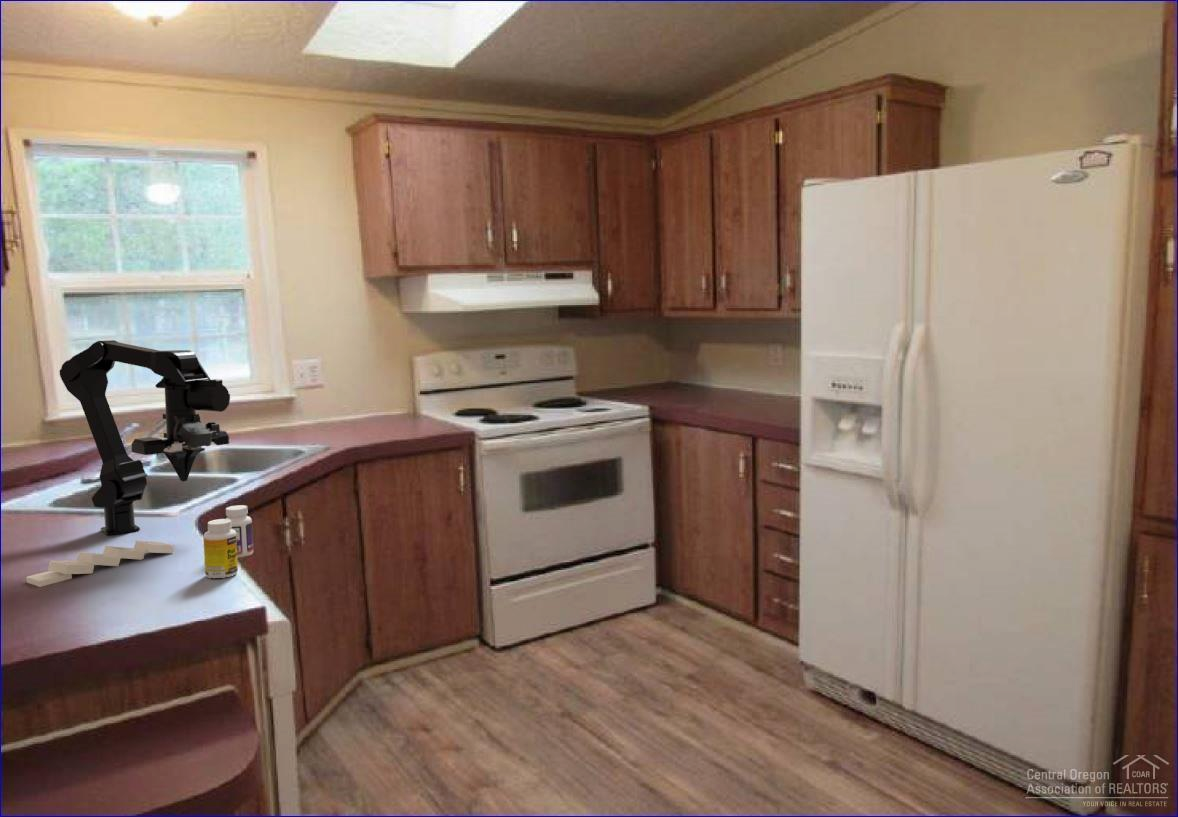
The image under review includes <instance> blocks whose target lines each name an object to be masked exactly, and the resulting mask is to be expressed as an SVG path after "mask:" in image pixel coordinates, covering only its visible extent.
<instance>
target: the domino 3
mask: <svg viewBox="0 0 1178 817" xmlns="http://www.w3.org/2000/svg"><path fill="white" fill-rule="evenodd" d="M121 559H122V558H116V557H112V556H108V555H105V554H103V553H96V552H95V553H94V552H83V551H79V552H78V554H77V558H76V561H81V562H84V563H88V564H93V565H94V566H95V565H96V566H97V565H98V566H109V567H119V564H120V561H121Z"/></svg>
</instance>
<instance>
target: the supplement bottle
mask: <svg viewBox="0 0 1178 817" xmlns="http://www.w3.org/2000/svg"><path fill="white" fill-rule="evenodd" d="M231 528H232V525H231V520H229V519H226V518H218V519H213V520H210V521H208V522H207V531H206V532H205V533H204V534H203V552H204V554H203V555H204V572H205V576H206V578H208V579H211V578H214V579H213V580H216V579H215V578H223V579H226V578H225V577H228V578H231V577H233V576H232V575H234V576H236V575H237V573H238V571H239V568H238V567H239V566H238V558H237V537H236V531H235V530H233V529H231ZM230 576H231V577H230Z"/></svg>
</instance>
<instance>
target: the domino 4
mask: <svg viewBox="0 0 1178 817" xmlns="http://www.w3.org/2000/svg"><path fill="white" fill-rule="evenodd" d="M102 554H105V555H108V556H112V557H116V558H121V559H130V560H141V561H142V559H143V560H144V558H145V554H146V552H144V551H140V550H136V549H134V547H133V548H132V547H124V546H123V547H121V546H113V545H111V546H110V545H104V549H103V553H102Z"/></svg>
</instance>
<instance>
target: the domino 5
mask: <svg viewBox="0 0 1178 817" xmlns="http://www.w3.org/2000/svg"><path fill="white" fill-rule="evenodd" d="M133 549H136V550H140V551H144V552H145V553H153V554H154V553H156V554H173V553H174V550H175V545H173V544H170V543H166V542H161V541H144V540H143V541H142V540H135V542H134V547H133Z"/></svg>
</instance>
